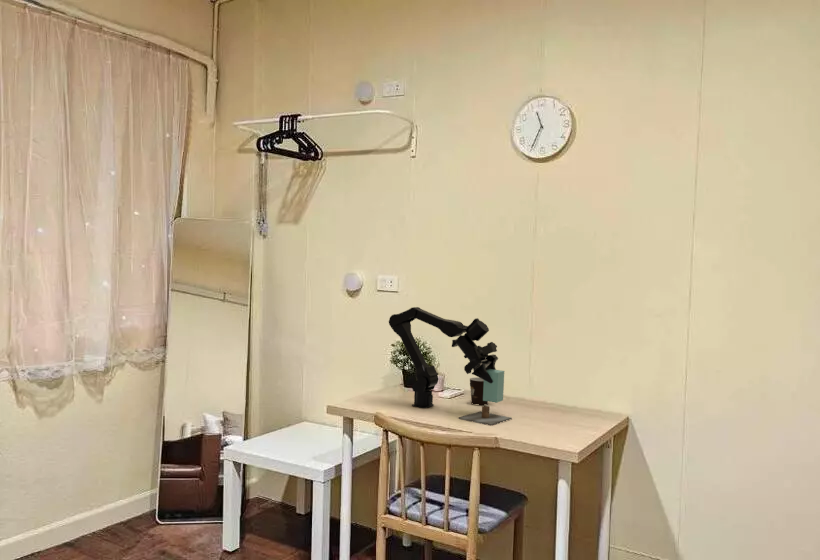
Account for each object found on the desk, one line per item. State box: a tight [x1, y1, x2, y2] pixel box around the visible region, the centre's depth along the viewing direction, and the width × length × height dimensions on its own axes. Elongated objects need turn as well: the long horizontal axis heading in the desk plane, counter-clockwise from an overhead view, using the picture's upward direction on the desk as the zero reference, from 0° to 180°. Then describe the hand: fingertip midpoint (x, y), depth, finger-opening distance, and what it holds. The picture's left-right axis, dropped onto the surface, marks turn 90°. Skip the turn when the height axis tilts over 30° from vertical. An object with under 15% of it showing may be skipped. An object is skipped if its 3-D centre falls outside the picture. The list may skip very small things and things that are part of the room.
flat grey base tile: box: [458, 405, 513, 426], centre depth 245 cm, size 14×14×5 cm
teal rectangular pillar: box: [483, 369, 505, 403], centre depth 247 cm, size 6×6×11 cm
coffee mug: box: [469, 376, 489, 406], centre depth 273 cm, size 12×9×10 cm
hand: (495, 381), depth 247 cm, fingers closed on teal rectangular pillar, 6 cm apart
